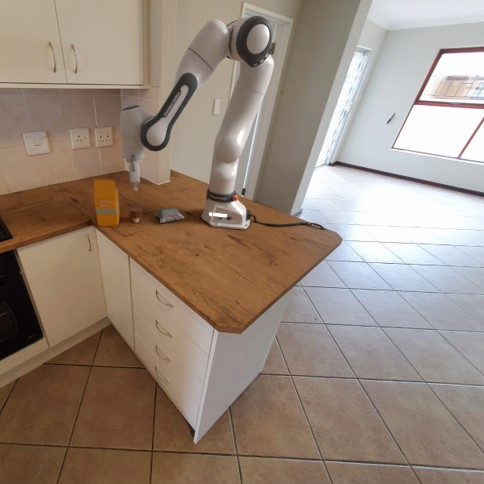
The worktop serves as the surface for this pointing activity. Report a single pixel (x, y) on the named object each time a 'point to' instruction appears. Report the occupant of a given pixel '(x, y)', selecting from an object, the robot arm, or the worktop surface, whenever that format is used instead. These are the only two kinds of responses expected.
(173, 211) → the packaged food
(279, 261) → the worktop surface
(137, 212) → the brown stepped knob
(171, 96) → the robot arm
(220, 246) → the worktop surface
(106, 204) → the orange juice
